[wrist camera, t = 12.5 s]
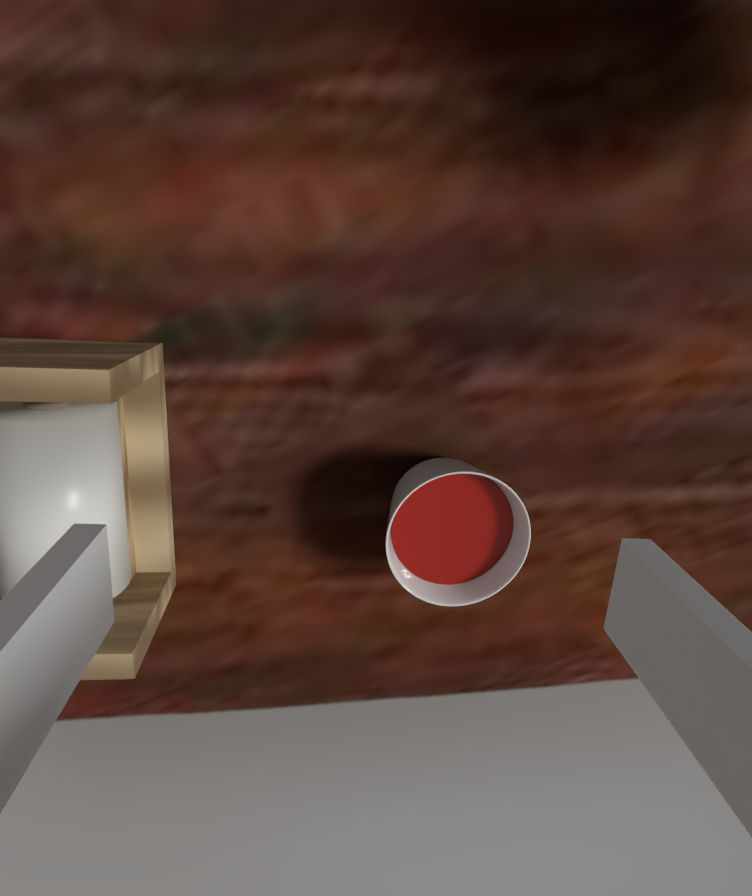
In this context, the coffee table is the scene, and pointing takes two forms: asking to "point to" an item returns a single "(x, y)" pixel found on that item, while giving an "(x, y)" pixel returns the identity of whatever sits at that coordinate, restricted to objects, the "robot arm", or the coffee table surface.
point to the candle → (455, 533)
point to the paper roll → (59, 483)
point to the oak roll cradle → (143, 460)
